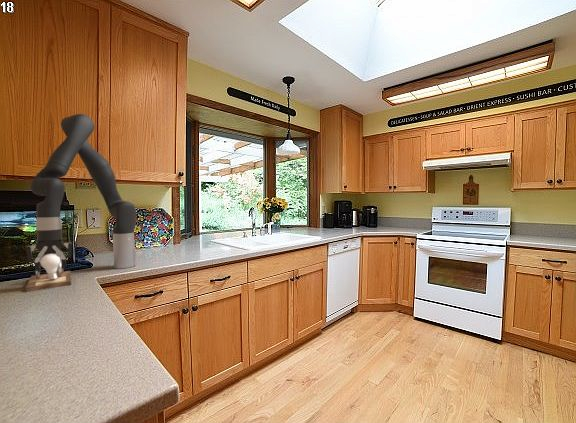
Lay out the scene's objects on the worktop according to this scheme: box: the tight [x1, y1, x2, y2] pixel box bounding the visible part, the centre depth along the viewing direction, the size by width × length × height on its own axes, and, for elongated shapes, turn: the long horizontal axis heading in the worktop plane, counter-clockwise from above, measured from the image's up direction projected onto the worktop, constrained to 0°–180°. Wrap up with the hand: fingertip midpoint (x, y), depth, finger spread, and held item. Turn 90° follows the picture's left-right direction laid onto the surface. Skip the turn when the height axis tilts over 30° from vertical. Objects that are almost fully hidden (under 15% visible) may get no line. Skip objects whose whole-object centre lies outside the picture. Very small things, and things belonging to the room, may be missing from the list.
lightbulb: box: [39, 253, 61, 280], centre depth 108 cm, size 6×6×11 cm
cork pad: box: [35, 276, 66, 286], centre depth 108 cm, size 9×7×1 cm
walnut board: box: [25, 270, 72, 292], centre depth 112 cm, size 13×20×2 cm, turn 39°
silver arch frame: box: [35, 258, 65, 279], centre depth 115 cm, size 9×9×7 cm
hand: (51, 269), depth 108 cm, fingers open, 6 cm apart
